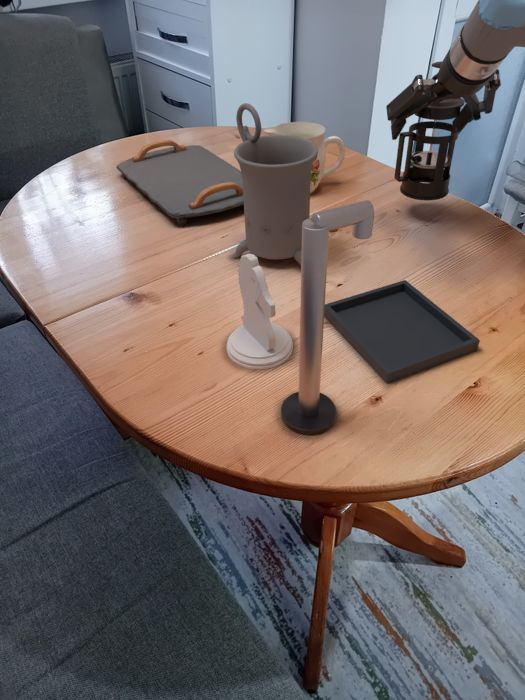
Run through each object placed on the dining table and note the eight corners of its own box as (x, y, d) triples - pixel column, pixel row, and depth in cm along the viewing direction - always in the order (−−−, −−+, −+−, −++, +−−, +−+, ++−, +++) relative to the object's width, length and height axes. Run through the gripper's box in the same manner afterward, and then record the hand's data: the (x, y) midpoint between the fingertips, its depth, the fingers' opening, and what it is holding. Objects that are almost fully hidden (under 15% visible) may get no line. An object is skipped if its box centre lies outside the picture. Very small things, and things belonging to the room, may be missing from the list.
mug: (338, 258, 98) (348, 115, 82) (275, 287, 91) (273, 138, 75) (273, 222, 110) (271, 90, 93) (213, 245, 103) (200, 108, 87)
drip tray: (403, 289, 90) (405, 279, 89) (477, 350, 78) (480, 340, 76) (322, 315, 85) (322, 304, 84) (386, 384, 73) (388, 373, 72)
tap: (337, 382, 74) (354, 186, 55) (366, 416, 69) (395, 214, 50) (272, 406, 70) (267, 207, 52) (296, 443, 66) (300, 238, 47)
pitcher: (349, 194, 118) (355, 130, 110) (270, 203, 116) (268, 139, 107) (334, 175, 127) (338, 114, 118) (260, 183, 124) (258, 122, 115)
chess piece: (248, 379, 74) (242, 289, 65) (215, 341, 81) (205, 254, 71) (306, 353, 78) (308, 264, 68) (270, 319, 85) (267, 234, 75)
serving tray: (276, 205, 115) (276, 177, 111) (179, 235, 106) (174, 206, 102) (196, 152, 141) (193, 127, 137) (111, 172, 132) (106, 147, 128)
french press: (437, 178, 111) (459, 54, 97) (460, 196, 104) (487, 65, 90) (384, 185, 109) (398, 60, 95) (404, 204, 102) (422, 72, 88)
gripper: (397, 88, 79) (365, 154, 101) (553, 77, 80) (487, 145, 102) (392, 40, 80) (360, 116, 102) (546, 30, 81) (482, 107, 103)
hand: (424, 130), depth 102 cm, fingers closed on french press, 11 cm apart
